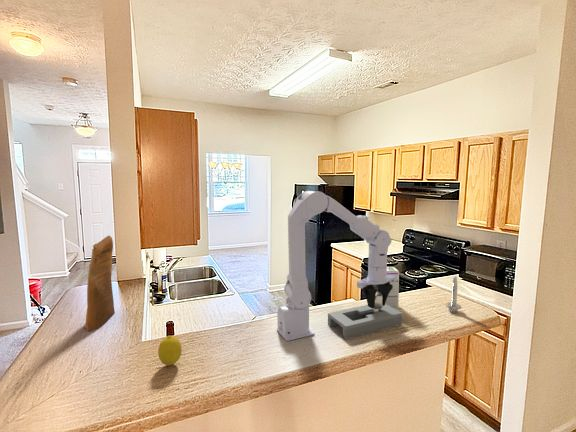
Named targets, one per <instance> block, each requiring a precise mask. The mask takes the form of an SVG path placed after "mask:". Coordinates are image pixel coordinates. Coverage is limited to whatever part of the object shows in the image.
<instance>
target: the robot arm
mask: <svg viewBox="0 0 576 432" xmlns="http://www.w3.org/2000/svg"><path fill="white" fill-rule="evenodd" d="M323 212H326V213H332V214H333V215H334V216H336V217H338V218H339V219H341V220H342V221H344V222H345V223H347V224H348V225H349V229H350V231H352V232H353V233H355V235H358V236H359V237H360V238H362V240H364V241H365V242H366V244H368V263H367V265H368V267H367V268H368V269H367V273H368V274H367V276H366V277H365V278H363V279H360V280H357V281H356V287H357V288H358V289H360V290H362V291H363V294H364V295H365V299H366V302H367V305H368V306H369V307H370V308H374V301H375V295H376V292H379V293H382V294H383V306H385V303H386V300H387V297H388V294H389V293H390V291H391V289H392V288H393V285H391V284H390V282H396V276H393V275H388V276H386V273H387V267H388V266H387V265H388V264H387V263H388V253H389V252H388V250H389V247H390V245H391V243H392V238H391V236H390V233H389V232H388V231H386V230H384V229H380V225H378V224H374V223H373V222H372V221H370V220H369V217H368V216H367V215H361V214H359V215H355V214H354V213H352V212H351V211H350V210H349V209H347V208H346V207H344V206H343V205H342V204H341V203H339V202H338V201H337V200H336V199H334V198H332V197H331V196H329V195H326V194H325V193H324V192H322V191H319V190H317V191H313V190H305V191H303V192H302V193H300V195H298V196H297V197H296V199H295V202H294V204H293V206H292V208H291V210H290V212H289V213H288V215H287V232H288V233H287V237H288V239H287V241H288V243H287V244H288V274H287V276H286V283H285V285H284V293H285V295H286V296H287V298H286V300H285V304H284V305H282V306H279V307H278V308H277V314H276V315H277V319H276V320H277V327H276V330H277V332H278V333H279V334H280V335H281V336H282V338H283V339H284V340H285V341H287V342H289V341H293V340H297V339H302V338H306V337H310V336H314V335H315V332H314V331H313V330H312V329H311V328H310V304H311V302H312V293H311V292H310V289H309V283H308V279H307V275H306V273H307V271H306V270H307V269H306V264H307V263H306V262H307V261H306V223H307V222H309V220H311V219H312V218H313V217H315V216H317V215H319V214H321V213H323ZM374 286H377V288H375V287H374Z"/></svg>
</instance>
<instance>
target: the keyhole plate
mask: <svg viewBox="0 0 576 432" xmlns="http://www.w3.org/2000/svg"><path fill="white" fill-rule="evenodd" d="M373 310H374V308H370V307H369V306H368V304H365V305H359V306H356V307H349V308H346V309H342V310H337V311H331V312H328V313H327V326H328V327H330V328H332V327H335V326H340V327H342V338H344V339H345V340H347V339H352V338H355V337H360V336H364V335H368V334H371V333H376V332H379V331H383V330H386V329H391V328H394V327H397V326H398V327H399V326H402V325H403V314H404V312H401V311H400V310H399V309H398V310H396V309H394V308H392V307H390V306H389V305H387V304H385V306H382V308H381V309H379V311H378V313H374V314H373Z"/></svg>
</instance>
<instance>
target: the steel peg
mask: <svg viewBox="0 0 576 432" xmlns="http://www.w3.org/2000/svg"><path fill="white" fill-rule="evenodd" d="M382 306H383V294H382V293H379V292H378V291H377V292H376V295H375V301H374V310H373V314H374V313H378V311H379V309H381V308H382Z"/></svg>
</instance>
